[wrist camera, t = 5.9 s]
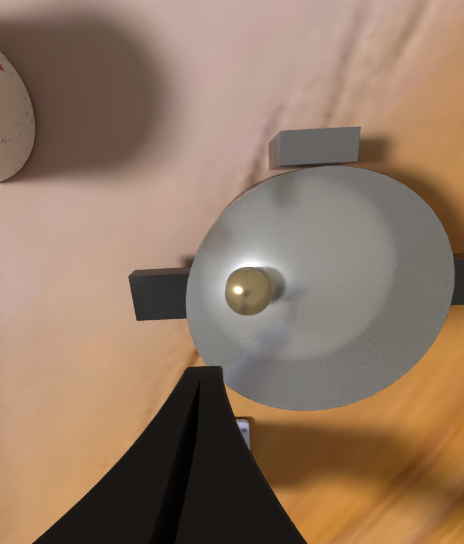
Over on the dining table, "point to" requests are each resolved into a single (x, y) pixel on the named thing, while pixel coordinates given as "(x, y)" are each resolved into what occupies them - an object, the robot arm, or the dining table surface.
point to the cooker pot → (282, 155)
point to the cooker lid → (320, 287)
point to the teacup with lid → (14, 121)
